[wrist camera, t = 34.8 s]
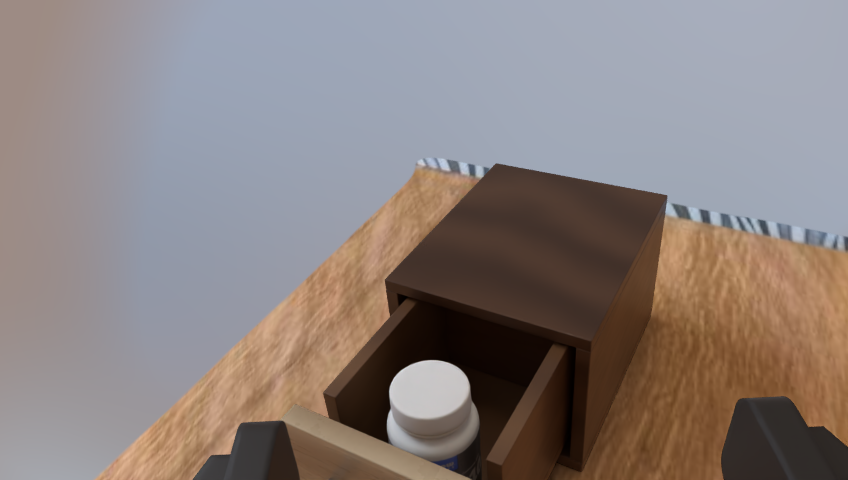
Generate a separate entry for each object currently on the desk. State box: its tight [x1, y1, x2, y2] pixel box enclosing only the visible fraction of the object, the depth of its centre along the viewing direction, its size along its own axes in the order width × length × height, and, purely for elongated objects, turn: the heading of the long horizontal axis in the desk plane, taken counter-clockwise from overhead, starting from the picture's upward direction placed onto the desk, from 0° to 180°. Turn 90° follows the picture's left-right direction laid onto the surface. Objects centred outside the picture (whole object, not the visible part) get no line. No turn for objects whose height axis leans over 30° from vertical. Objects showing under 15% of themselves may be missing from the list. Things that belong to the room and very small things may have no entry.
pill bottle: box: [387, 360, 482, 480], centre depth 35 cm, size 5×5×8 cm
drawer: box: [281, 297, 576, 480], centre depth 36 cm, size 20×11×9 cm, turn 150°
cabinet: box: [385, 164, 667, 471], centre depth 45 cm, size 16×13×11 cm
